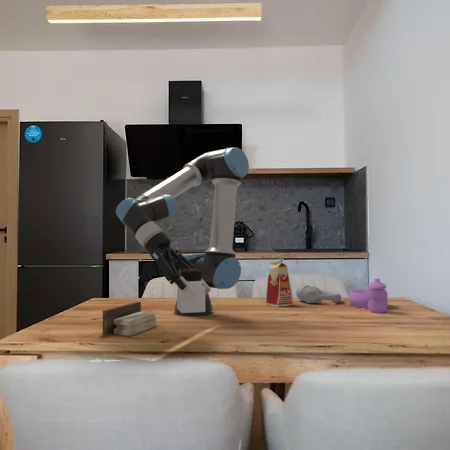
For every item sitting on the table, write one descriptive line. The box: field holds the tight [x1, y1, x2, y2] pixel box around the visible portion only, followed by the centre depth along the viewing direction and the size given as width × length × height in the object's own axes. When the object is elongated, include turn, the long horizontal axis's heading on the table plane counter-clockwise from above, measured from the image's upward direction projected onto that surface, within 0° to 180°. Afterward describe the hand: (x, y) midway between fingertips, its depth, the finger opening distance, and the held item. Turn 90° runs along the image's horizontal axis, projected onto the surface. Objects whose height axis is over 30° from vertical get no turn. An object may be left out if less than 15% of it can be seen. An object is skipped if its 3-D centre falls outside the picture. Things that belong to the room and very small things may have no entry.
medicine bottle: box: [176, 269, 206, 313], centre depth 119 cm, size 7×7×12 cm
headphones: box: [295, 284, 342, 304], centre depth 190 cm, size 18×8×20 cm
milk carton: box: [265, 259, 294, 308], centre depth 181 cm, size 9×9×20 cm
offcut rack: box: [102, 301, 162, 338], centre depth 126 cm, size 10×18×8 cm, turn 159°
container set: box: [349, 278, 389, 314], centre depth 172 cm, size 25×15×13 cm, turn 175°
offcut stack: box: [114, 311, 157, 335], centre depth 126 cm, size 6×14×4 cm, turn 159°
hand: (200, 294), depth 118 cm, fingers closed on medicine bottle, 10 cm apart
